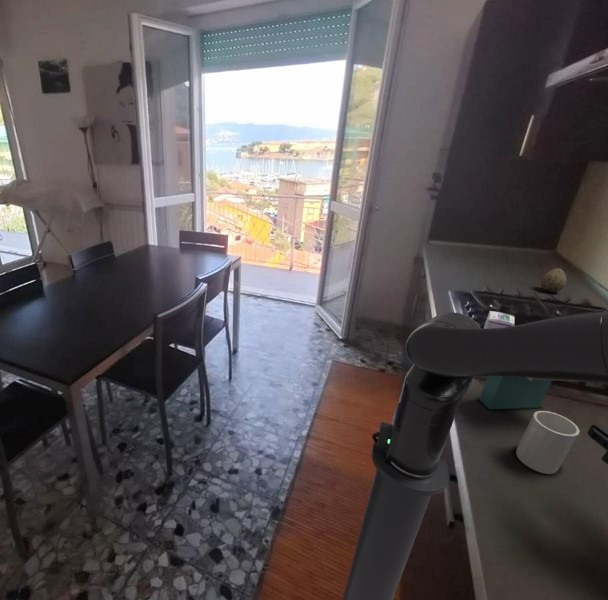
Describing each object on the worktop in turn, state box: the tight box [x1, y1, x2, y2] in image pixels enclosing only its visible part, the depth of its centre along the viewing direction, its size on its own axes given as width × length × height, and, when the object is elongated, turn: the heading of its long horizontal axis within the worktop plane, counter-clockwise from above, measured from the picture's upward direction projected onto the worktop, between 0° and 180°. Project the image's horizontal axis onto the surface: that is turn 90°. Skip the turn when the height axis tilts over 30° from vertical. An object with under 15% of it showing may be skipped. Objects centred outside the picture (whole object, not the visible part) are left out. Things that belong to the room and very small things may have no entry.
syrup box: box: [483, 310, 516, 329], centre depth 98 cm, size 6×6×14 cm
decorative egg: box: [540, 267, 567, 293], centre depth 140 cm, size 7×7×10 cm
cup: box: [515, 410, 581, 475], centre depth 69 cm, size 6×6×10 cm
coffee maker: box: [478, 376, 558, 410], centre depth 79 cm, size 10×12×19 cm
